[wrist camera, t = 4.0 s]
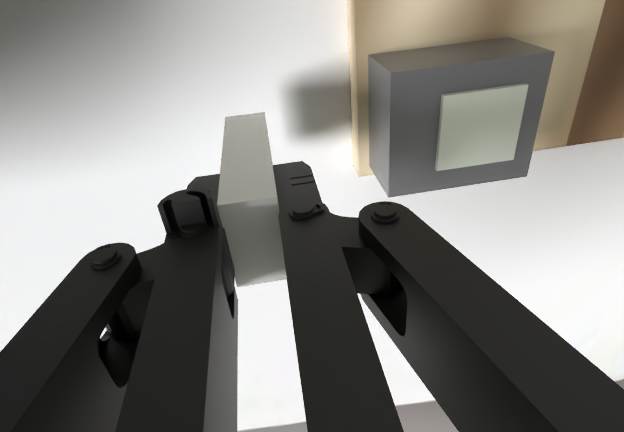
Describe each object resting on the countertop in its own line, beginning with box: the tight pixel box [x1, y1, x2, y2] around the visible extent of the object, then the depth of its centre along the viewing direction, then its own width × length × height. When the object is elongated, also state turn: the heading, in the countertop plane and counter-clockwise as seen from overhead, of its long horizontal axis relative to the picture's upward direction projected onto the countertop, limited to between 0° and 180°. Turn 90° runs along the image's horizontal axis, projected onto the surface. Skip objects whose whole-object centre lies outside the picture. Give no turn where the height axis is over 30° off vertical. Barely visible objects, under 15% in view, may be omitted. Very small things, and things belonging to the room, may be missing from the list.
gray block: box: [368, 37, 555, 197], centre depth 17 cm, size 6×5×3 cm
